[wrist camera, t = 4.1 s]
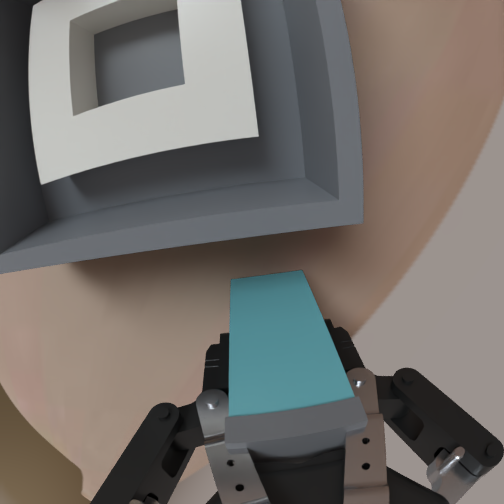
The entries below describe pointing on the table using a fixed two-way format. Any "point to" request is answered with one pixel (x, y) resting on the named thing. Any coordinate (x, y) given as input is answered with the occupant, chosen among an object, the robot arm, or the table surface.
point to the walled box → (172, 125)
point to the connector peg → (285, 374)
